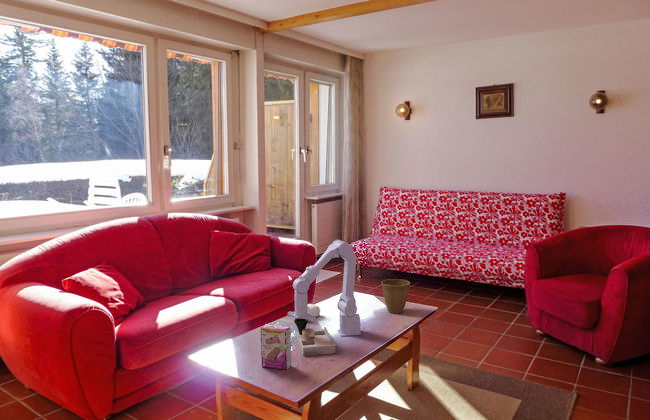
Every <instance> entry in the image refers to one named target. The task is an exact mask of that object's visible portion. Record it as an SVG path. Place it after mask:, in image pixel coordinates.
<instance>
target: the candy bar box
mask: <svg viewBox="0 0 650 420" xmlns="http://www.w3.org/2000/svg"><path fill="white" fill-rule="evenodd" d="M291 334H292V332H291V326H284V325H276V324H268V323H265V324H264V325H263V326H261V327H260V346H261V347H260V349H261V352H260V353H261V355H260V356H261V367H262V368H270V369H275V370H283V371H288V369H290V367H291V366H292V342H291V341H292V340H291V338H292V336H291Z"/></svg>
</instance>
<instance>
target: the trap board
mask: <svg viewBox="0 0 650 420" xmlns="http://www.w3.org/2000/svg"><path fill="white" fill-rule="evenodd" d="M295 336H296V339H297V342H298V345H299V348H300V350H301V352H302V356H303V357H307V356H318V355H327V354H329V355H330V354H336V353H337V344H336V343H335V341H334V339H333V338H332V336H331V334H330V332H329V331H328V329H327V327H325V326H324V327H323V328H322V329H314V337H315V338H314V339H313V340H304V339H303V338H302V335H300V334H299V331H296V332H295Z"/></svg>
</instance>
